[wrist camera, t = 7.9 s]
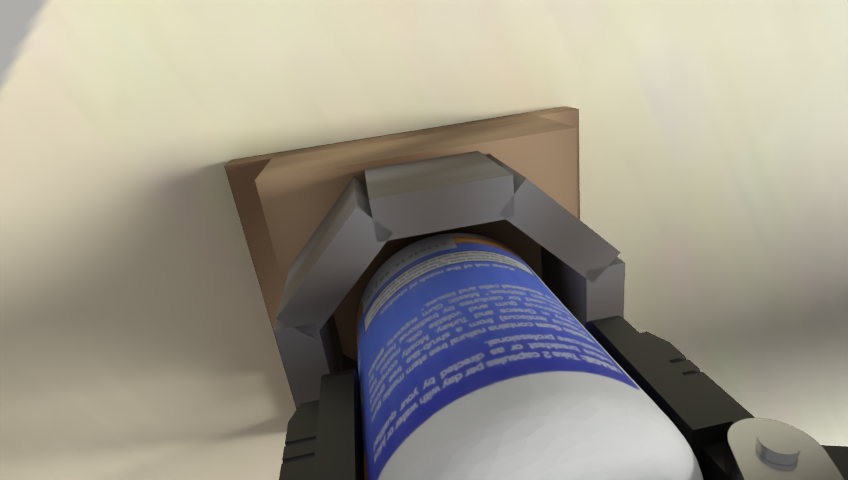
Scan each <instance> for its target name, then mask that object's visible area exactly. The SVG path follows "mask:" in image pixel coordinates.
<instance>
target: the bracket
mask: <svg viewBox="0 0 848 480" xmlns="http://www.w3.org/2000/svg"><path fill="white" fill-rule="evenodd" d="M225 170H226V173H227V176H228V180H229V183H230V186H231V190H232V193H233V196H234V200H235V203H236V207H237V210H238V213H239V217H240V220H241V223H242V227H243V230H244V234H245V237H246V240H247V244H248V247H249V250H250V254H251V257H252V260H253V264H254V267H255V271H256V274H257V277H258V281H259V284H260V287H261V291H262V294H263V297H264V301H265V304H266V308H267V311H268V314H269V318H270V321H271V324H272V328H273V331H274V335H275V338H276V341H277V345H278V348H279V352H280V355H281V358H282V362H283V365H284V368H285V372H286V375H287V378H288V382H289V385H290V389H291V392H292V395H293V399H294V402H295V405H296V409H298V407H299V405H300V404H301V403H305V402H310V401H315V400H319V397H320V385H321V377H322V375H326V374H330V373H335V372H340V371H345V370H350V369H355V371H356V375H357V379H358V383H359V371H358V352H357V336H356V334H357V315H358V310H359V305H360V301H361V298H362V295H363V293H364V291H365V289H366V287H367V285H368V283H369V281H370V280H371V278H372V277H373V276H374V274H375V273H376V271H377V270H378V269H379V268H380V267H381V266H382V265H383V264H384V263H385V262H386V261H387V260H388V259H389V258H390V257H391V256H393V255H394V254H395V253H397V252H398V251H400V250H401V249H403V248H405V247H406V246H408V245H410V244H412V243H414V242H417V241H419V240H422V239H425V238H428V237H431V236H436V235H440V234H447V233H470V234H476V235H481V236H485V237H488V238H491V239H494V240H496V241H498V242H500V243H502V244H504V245H506V246H507V247H509V248H510V249H512V250H513V251H514V252H515V253H517V254H518V255H519V256H520V257H521V258H522V259H523V260H524V261H525V262H526V264H527V265H528V266H529V267H530V268H531V269H532V270H533V271H534V272H535V273H536V275H537V276H538V277H539V278H540V279H541V280H542V281H543V283H544V284H545V285H546V286H547V287H548V288H549V289H550V290H551V292H552V293H553V294H554V295H555V296H556V297H557V298H558V299H559V300H560V302H561V303H562V304H563V305H564V306H565V307H566V308H567V309H568V310H569V311H570V312H571V314H572V315H573V316H574V317H575V318H576V319H577V320H578V321H579V322H580V323H581V324H582V326H583V327H585V324H586V322H588V321H592V320H597V319H602V318H607V317H612V316H617V315H618V316H621V317H622V318H623V311H624V278H625V263H624V262H623V261H622V260H620V259H619V258H617V256H618V255H619V253H620V252H619V251H618V250H617V249H615V248H614V247H613V246H612V245H610V244H609V243H608V242H606V241H605V240H604V239H603V238H601V237H600V236H599V235H598V234H596V233H595V232H594V231H593V230H591V229H590V228H589V227H588V226H586V225H585V224H584V223H583V222H581V221H580V197H579V109H576V108H571V107H560V108H554V109H548V110H541V111H535V112H529V113H522V114H516V115H510V116H504V117H497V118H491V119H485V120H479V121H472V122H466V123H460V124H454V125H447V126H441V127H435V128H429V129H422V130H416V131H410V132H404V133H397V134H391V135H385V136H379V137H372V138H366V139H360V140H353V141H347V142H341V143H335V144H328V145H322V146H316V147H310V148H303V149H297V150H291V151H285V152H278V153H272V154H266V155H260V156H253V157H247V158H241V159H235V160H231V161H230V162H229V163H227V164H226V165H225Z"/></svg>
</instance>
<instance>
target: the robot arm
mask: <svg viewBox="0 0 848 480" xmlns="http://www.w3.org/2000/svg"><path fill="white" fill-rule="evenodd" d="M584 328H585V329H586V330H587V331H588V332H589V333H590V334H591V335H592V336H593V337H594V338H595V340H596V341H597V342H598V343H599V344H600V345H601V346H602V347H603V348H604V349H605V350H606V351H607V353H608V354H609V355H610V356H611V357H612V358H613V359H614V360H615V361H616V362H617V363H618V364H619V366H620V367H621V368H622V369H623V370H624V371H625V372H626V373H627V374H628V375H629V376H630V377H631V378H632V379H633V381H634V382H635V383H636V384H637V385H638V386H639V387H640V388H641V389H642V390H643V391H644V392H645V393H646V394H647V395H648V396H649V397H650V398H651V399H652V400H653V402H654V403H655V404H656V405H657V406H658V407H659V408H660V409H661V410H662V411H663V412H664V414H665V415H666V416H667V417H668V418H669V419H670V420H671V421H672V422H673V424H674V425H675V426H676V427H677V429H678V430H679V431H680V432H681V434H682V435H683V436H684V437H685V439H686V441H687V442H688V444H689V446H690V447H691V449H692V451H693V453H694V455H695V457H696V459H697V462H698V464H699V467H700V470H701V473H702V476H703V480H848V447H845V446H825V445H820V444H819V443H818V442H817V441H816V440H815V439H813V438H812V437H811V436H809V435H808V434H806V433H805V432H803V431H801V430H799V429H797V428H795V427H793V426H791V425H788V424H786V423H783V422H779V421H776V420H771V419H765V418H755V417H754V416H752V415H751V414H750V413H749V412H748V411H747V410H746V409H744V408H743V407H742V406H741V405H740V404H739V403H738V402H736V401H735V400H734V399H733V398H732V397H731V396H730V395H728V394H727V393H726V392H725V391H724V390H723V389H722V388H721V387H719V386H718V385H717V384H716V383H715V382H714V381H713V380H711V379H710V378H709V377H708V376H707V375H706V374H705V373H703V372H700V370H699V368H698V367H697V366H695V365H694V364H693V363H692V362H691V361H690V360H686V357H685V356H684V355H683V354H682V353H681V352H680V351H678V350H677V349H676V348H675V347H674V346H673V345H672V344H670V343H669V342H667V341H665V340H663V339H661V338H659V337H657V336H655V335H653V334H650V333H648V332H643V333H639V332H638V331H636V330H635V329H634V328H633V327H632V326H631V325H630V324H629V323H628V322H627V321H626V320H625V319H624V318H622V317H621V316H618V315H617V316H612V317H607V318H602V319H597V320H592V321H588V322H586V324H585V327H584ZM285 444H286V446H285V447H284V453H283V459H282V460H283V464H282V465H281V471H280V477H279V480H364V468H363V444H362V427H361V406H360V388H359V383H358V379H357V375H356V371H355V369H350V370H345V371H340V372H335V373H330V374H326V375H322V377H321V385H320V397H319V400H315V401H310V402H305V403H301V404H300V405H299V407H298V409H297V410H296V412H295V413H294V415H293V416H292V418H291V419H290V421H289V422H288V428H287V434H286V441H285Z"/></svg>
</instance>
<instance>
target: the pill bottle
mask: <svg viewBox="0 0 848 480" xmlns="http://www.w3.org/2000/svg"><path fill="white" fill-rule="evenodd" d="M356 336H357V352H358V371H359V388H360V406H361V427H362V444H363V468H364V480H703V476H702V473H701V470H700V467H699V464H698V462H697V459H696V457H695V455H694V453H693V451H692V449H691V447H690V446H689V444H688V442H687V441H686V439H685V437H684V436H683V435H682V434H681V432H680V431H679V430H678V429H677V427H676V426H675V425H674V424H673V422H672V421H671V420H670V419H669V418H668V417H667V416H666V415H665V414H664V412H663V411H662V410H661V409H660V408H659V407H658V406H657V405H656V404H655V403H654V402H653V400H652V399H651V398H650V397H649V396H648V395H647V394H646V393H645V392H644V391H643V390H642V389H641V388H640V387H639V386H638V385H637V384H636V383H635V382H634V381H633V379H632V378H631V377H630V376H629V375H628V374H627V373H626V372H625V371H624V370H623V369H622V368H621V367H620V366H619V364H618V363H617V362H616V361H615V360H614V359H613V358H612V357H611V356H610V355H609V354H608V353H607V351H606V350H605V349H604V348H603V347H602V346H601V345H600V344H599V343H598V342H597V341H596V340H595V338H594V337H593V336H592V335H591V334H590V333H589V332H588V331H587V330H586V329H585V328H584V327H583V326H582V324H581V323H580V322H579V321H578V320H577V319H576V318H575V317H574V316H573V315H572V314H571V312H570V311H569V310H568V309H567V308H566V307H565V306H564V305H563V304H562V303H561V302H560V300H559V299H558V298H557V297H556V296H555V295H554V294H553V293H552V292H551V290H550V289H549V288H548V287H547V286H546V285H545V284H544V283H543V281H542V280H541V279H540V278H539V277H538V276H537V275H536V273H535V272H534V271H533V270H532V269H531V268H530V267H529V266H528V265H527V264H526V262H525V261H524V260H523V259H522V258H521V257H520V256H519V255H518V254H517V253H515V252H514V251H513V250H512V249H510V248H509V247H507V246H506V245H504V244H502V243H500V242H498V241H496V240H494V239H491V238H488V237H485V236H481V235H476V234H470V233H447V234H440V235H436V236H431V237H428V238H425V239H422V240H419V241H417V242H414V243H412V244H410V245H408V246H406V247H405V248H403V249H401V250H400V251H398V252H397V253H395V254H394V255H393V256H391V257H390V258H389V259H388V260H387V261H386V262H385V263H384V264H383V265H382V266H381V267H380V268H379V269H378V270H377V271H376V273H375V274H374V276H373V277H372V278H371V280H370V281H369V283H368V285H367V287H366V289H365V291H364V293H363V295H362V298H361V301H360V305H359V310H358V315H357V334H356Z"/></svg>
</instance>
